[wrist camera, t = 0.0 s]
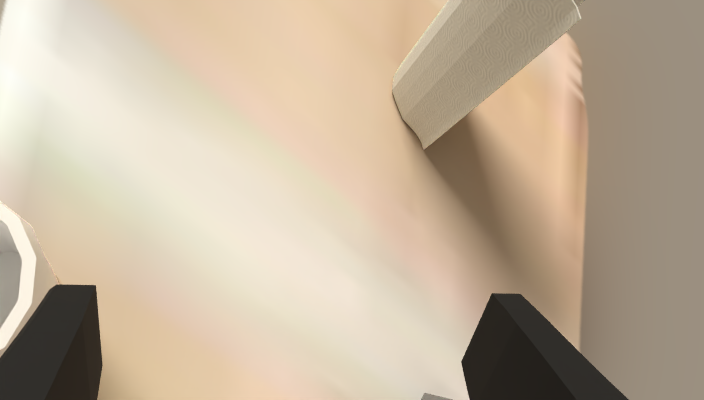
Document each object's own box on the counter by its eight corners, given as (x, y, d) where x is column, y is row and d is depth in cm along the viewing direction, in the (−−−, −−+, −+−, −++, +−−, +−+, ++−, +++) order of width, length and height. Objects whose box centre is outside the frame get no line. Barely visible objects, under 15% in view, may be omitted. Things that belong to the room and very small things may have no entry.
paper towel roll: (418, 45, 50) (565, -151, 30) (471, 92, 51) (652, -70, 31) (367, 101, 48) (489, -70, 28) (423, 151, 48) (584, 17, 28)
